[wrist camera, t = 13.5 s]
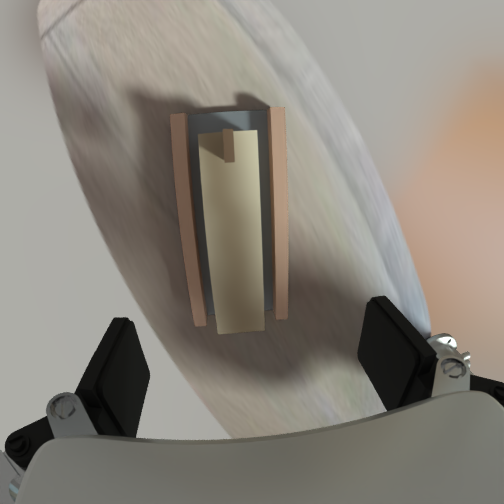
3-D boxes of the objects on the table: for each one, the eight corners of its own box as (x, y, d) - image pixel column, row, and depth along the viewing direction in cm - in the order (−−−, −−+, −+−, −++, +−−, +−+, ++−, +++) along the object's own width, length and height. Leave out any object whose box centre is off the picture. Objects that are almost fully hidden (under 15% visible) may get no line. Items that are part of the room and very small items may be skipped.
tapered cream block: (249, 134, 24) (262, 127, 15) (257, 296, 30) (269, 353, 21) (204, 137, 24) (193, 131, 15) (218, 299, 29) (217, 357, 21)
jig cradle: (277, 111, 24) (284, 107, 21) (282, 302, 32) (287, 318, 29) (176, 118, 24) (169, 114, 21) (197, 309, 31) (194, 326, 28)
